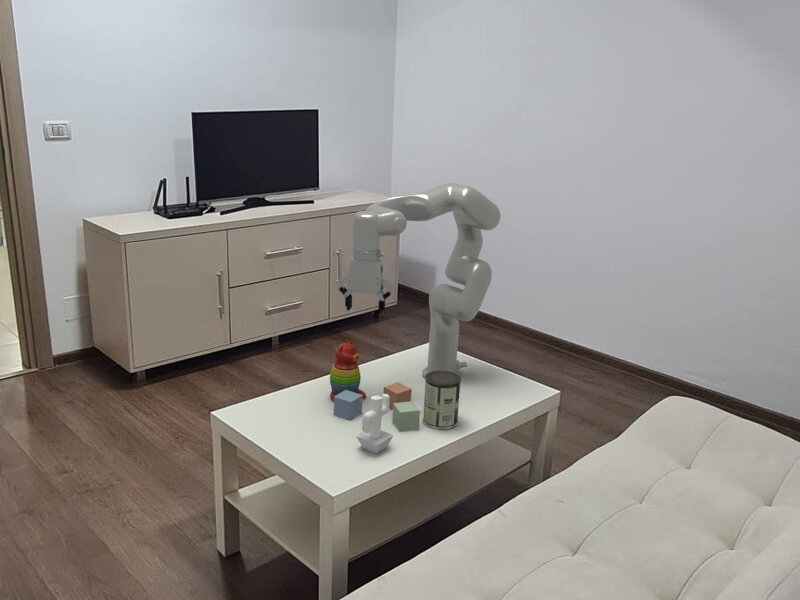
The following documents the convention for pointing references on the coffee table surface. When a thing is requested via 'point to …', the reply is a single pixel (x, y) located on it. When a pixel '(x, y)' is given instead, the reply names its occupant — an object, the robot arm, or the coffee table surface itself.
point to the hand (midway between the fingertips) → (365, 310)
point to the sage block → (406, 416)
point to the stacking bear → (345, 371)
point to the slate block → (348, 405)
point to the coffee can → (441, 399)
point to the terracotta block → (397, 393)
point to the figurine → (375, 425)
